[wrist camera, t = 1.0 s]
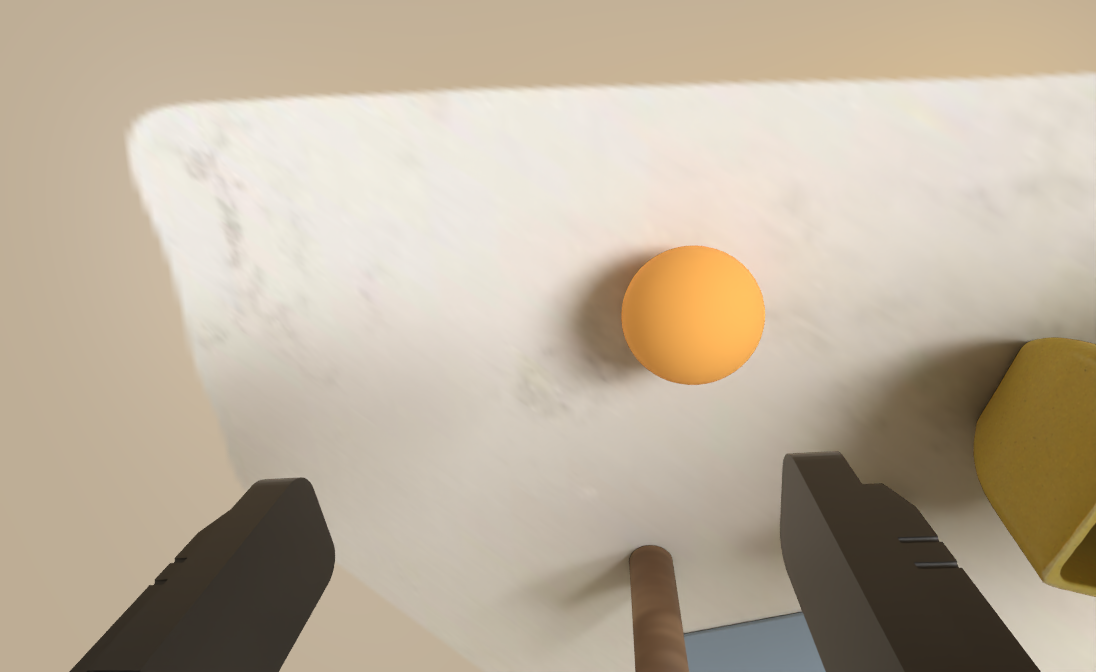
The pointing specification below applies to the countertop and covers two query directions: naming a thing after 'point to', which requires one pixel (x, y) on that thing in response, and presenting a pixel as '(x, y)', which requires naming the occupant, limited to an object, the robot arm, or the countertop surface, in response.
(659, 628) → the outer post
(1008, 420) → the flower pot
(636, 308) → the ball
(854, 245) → the countertop surface
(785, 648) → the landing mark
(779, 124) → the countertop surface
